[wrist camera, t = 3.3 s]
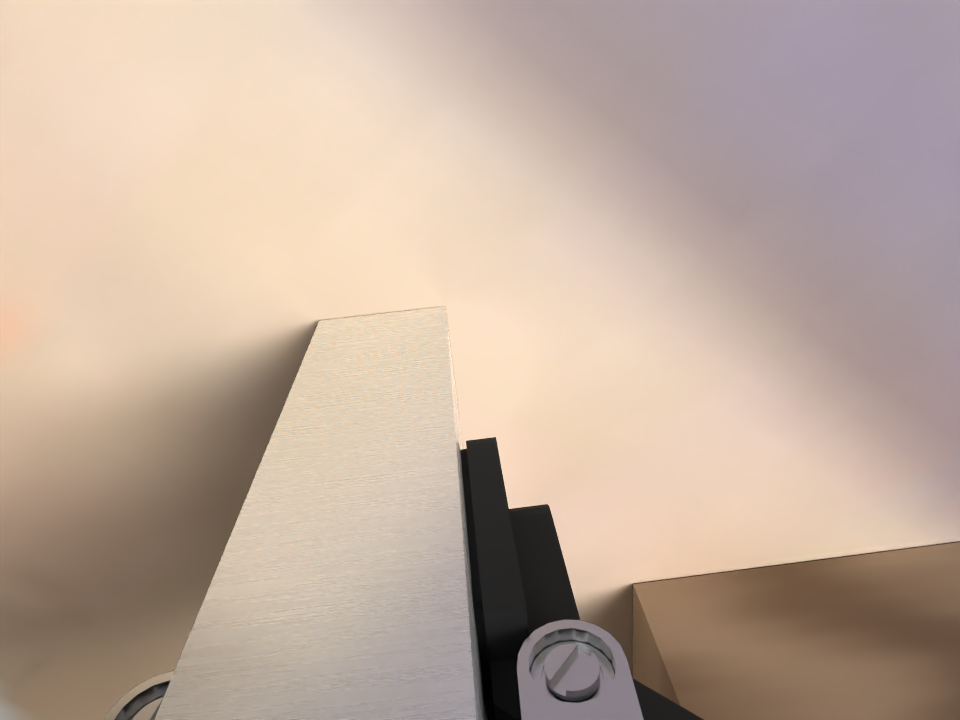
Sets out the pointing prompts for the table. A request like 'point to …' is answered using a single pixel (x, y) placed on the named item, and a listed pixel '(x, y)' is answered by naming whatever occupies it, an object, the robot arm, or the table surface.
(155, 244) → the table surface
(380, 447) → the white block
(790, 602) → the slotted wooden block
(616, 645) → the robot arm
